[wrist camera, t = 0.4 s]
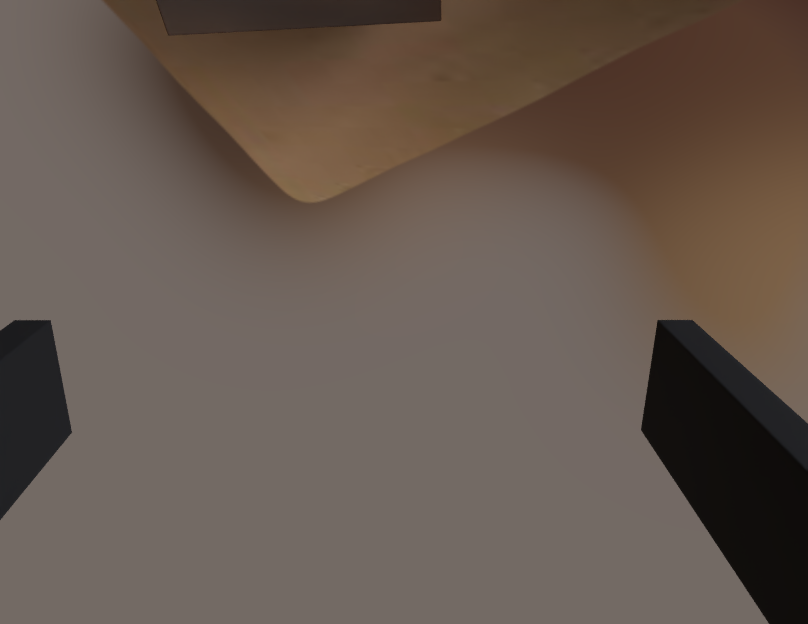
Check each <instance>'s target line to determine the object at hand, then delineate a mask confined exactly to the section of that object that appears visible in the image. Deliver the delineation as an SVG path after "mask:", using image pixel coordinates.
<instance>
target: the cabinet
mask: <svg viewBox="0 0 808 624" xmlns="http://www.w3.org/2000/svg"><path fill="white" fill-rule="evenodd" d="M156 1H157V4H158V7H159V10H160V13H161V16H162V18H163V21H164V24H165V27H166V30H167V33H168V35H169V36H170V35H189V34H207V33H226V32H244V31H263V30H282V29H300V28H319V27H338V26H356V25H375V24H393V23H412V22H431V21H441V0H156Z"/></svg>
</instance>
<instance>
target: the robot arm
mask: <svg viewBox="0 0 808 624" xmlns="http://www.w3.org/2000/svg"><path fill="white" fill-rule="evenodd" d="M641 430H642V432H643V434H644V435H645V437H646V438H647V440H648V441H649V443H650V444H651V446H652V447H653V449H654V450H655V452H656V453H657V455H658V456H659V458H660V459H661V461H662V462H663V464H664V465H665V467H666V468H667V470H668V472H669V473H670V475H671V476H672V478H673V479H674V481H675V482H676V483H677V485H678V487H679V488H680V490H681V491H682V493H683V494H684V496H685V497H686V499H687V500H688V502H689V503H690V505H691V506H692V508H693V509H694V511H695V512H696V514H697V515H698V517H699V518H700V520H701V521H702V523H703V524H704V526H705V527H706V529H707V530H708V532H709V534H710V535H711V536H712V538H713V540H714V541H715V543H716V544H717V546H718V547H719V548H720V550H721V552H722V553H723V555H724V556H725V558H726V559H727V561H728V562H729V564H730V565H731V567H732V568H733V570H734V571H735V572H736V574H737V576H738V577H739V579H740V580H741V582H742V583H743V585H744V586H745V588H746V589H747V591H748V592H749V594H750V595H751V597H752V598H753V600H754V602H755V603H756V604H757V606H758V608H759V609H760V611H761V612H762V613H763V615H764V616H765V618H766V620H767V621H768V623H769V624H808V424H807V423H806V422H805V421H804V420H803V419H802V418H801V417H800V416H799V415H797V414H796V413H795V412H794V411H793V410H792V409H791V408H790V407H789V406H787V405H786V404H785V403H784V402H783V401H782V400H781V399H780V398H779V397H777V396H776V395H775V394H774V393H773V392H772V391H771V390H769V389H768V388H767V387H766V386H765V385H764V384H763V383H762V382H761V381H760V380H758V379H757V378H756V377H755V376H754V375H753V374H752V373H751V372H750V371H748V370H747V369H746V368H745V367H744V366H743V365H742V364H741V363H740V362H738V361H737V360H736V359H735V358H734V357H733V356H732V355H730V353H728V352H727V351H726V350H725V349H724V348H723V347H722V346H721V345H719V344H718V343H717V342H716V341H715V340H714V339H713V338H712V337H711V336H709V335H708V334H707V333H706V332H705V331H704V330H703V329H702V328H701V327H699V326H698V325H697V324H696V323H695V322H694V321H693V320H658V322H657V328H656V335H655V341H654V348H653V354H652V361H651V368H650V374H649V381H648V387H647V394H646V401H645V407H644V414H643V420H642V428H641ZM71 433H72V431H71V425H70V420H69V415H68V409H67V404H66V399H65V394H64V389H63V383H62V378H61V373H60V367H59V363H58V357H57V351H56V346H55V341H54V336H53V330H52V325H51V321H50V320H42V321H41V320H35V321H34V320H18V321H17V320H15V321H13V322H12V323H10V324H9V325H7V326H6V327H5V328H4V329H2V330H1V331H0V520H1V518H2V517H3V516H4V515H5V513H6V512H7V511H8V510H9V509H10V507H11V506H12V505H13V504H14V502H15V501H16V500H17V499H18V497H19V496H20V495H21V494H22V493H23V491H24V490H25V489H26V488H27V487H28V485H29V484H30V483H31V482H32V480H33V479H34V478H35V477H36V476H37V474H38V473H39V472H40V471H41V469H42V468H43V467H44V466H45V464H46V463H47V462H48V461H49V460H50V458H51V457H52V456H53V455H54V454H55V452H56V451H57V450H58V449H59V447H60V446H61V445H62V444H63V443H64V441H65V440H66V439H67V438H68V436H69V435H70V434H71Z"/></svg>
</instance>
